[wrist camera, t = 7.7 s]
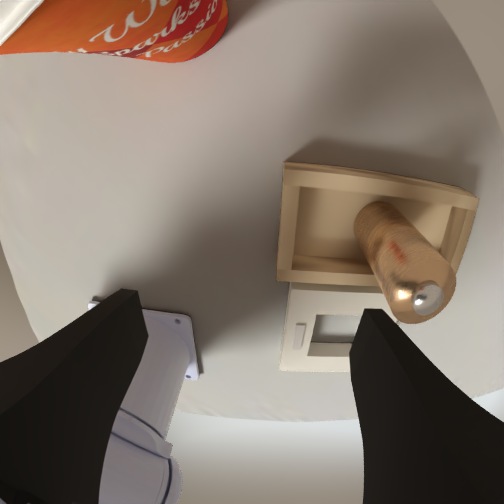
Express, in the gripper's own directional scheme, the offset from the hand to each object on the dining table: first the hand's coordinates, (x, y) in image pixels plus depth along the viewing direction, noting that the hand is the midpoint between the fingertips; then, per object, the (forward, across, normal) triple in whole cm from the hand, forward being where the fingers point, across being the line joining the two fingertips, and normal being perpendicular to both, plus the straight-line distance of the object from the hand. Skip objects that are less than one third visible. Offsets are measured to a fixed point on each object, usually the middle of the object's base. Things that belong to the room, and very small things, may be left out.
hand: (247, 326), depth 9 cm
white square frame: (+9, -6, +8) cm, 14 cm away
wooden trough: (+9, -7, 0) cm, 12 cm away
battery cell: (+9, -7, 0) cm, 11 cm away
